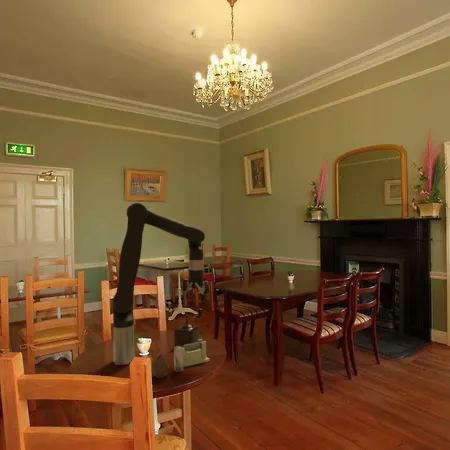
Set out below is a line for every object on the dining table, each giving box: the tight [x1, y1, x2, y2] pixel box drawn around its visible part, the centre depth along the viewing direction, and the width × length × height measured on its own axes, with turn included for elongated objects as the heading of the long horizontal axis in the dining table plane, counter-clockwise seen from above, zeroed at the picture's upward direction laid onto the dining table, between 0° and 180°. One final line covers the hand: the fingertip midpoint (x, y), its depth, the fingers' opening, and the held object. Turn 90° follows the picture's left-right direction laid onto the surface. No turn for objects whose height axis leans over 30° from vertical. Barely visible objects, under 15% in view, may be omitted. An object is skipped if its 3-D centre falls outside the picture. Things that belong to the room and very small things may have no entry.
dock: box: [183, 338, 211, 368], centre depth 170 cm, size 13×10×8 cm
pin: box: [184, 340, 204, 350], centre depth 170 cm, size 10×2×2 cm, turn 118°
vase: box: [151, 354, 170, 379], centre depth 153 cm, size 7×7×9 cm
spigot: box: [173, 346, 184, 373], centre depth 159 cm, size 4×4×10 cm
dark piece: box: [173, 308, 205, 348], centre depth 192 cm, size 16×11×18 cm
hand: (195, 300), depth 181 cm, fingers open, 8 cm apart
